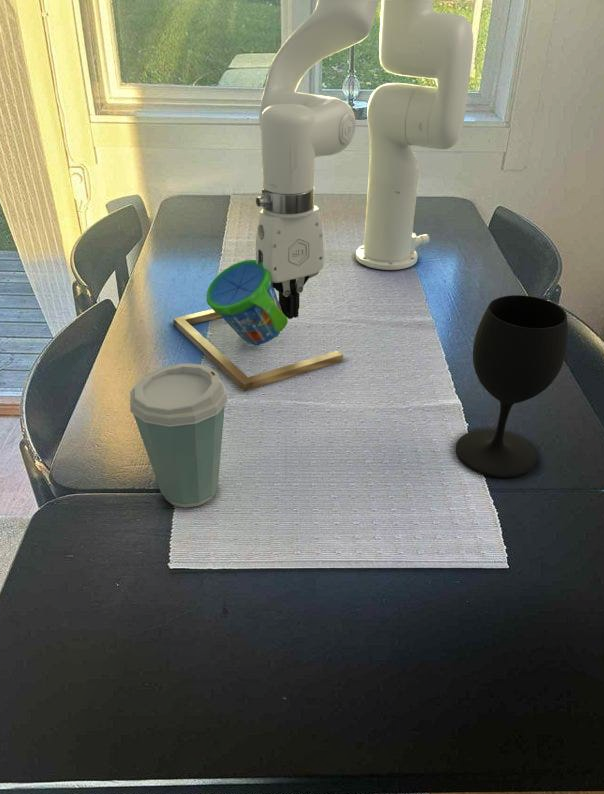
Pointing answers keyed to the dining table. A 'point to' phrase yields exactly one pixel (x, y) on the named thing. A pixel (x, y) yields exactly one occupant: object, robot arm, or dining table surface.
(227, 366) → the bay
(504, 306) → the wine glass
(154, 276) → the dining table surface
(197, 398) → the disposable coffee cup
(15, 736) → the dining table surface
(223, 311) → the snack cup
